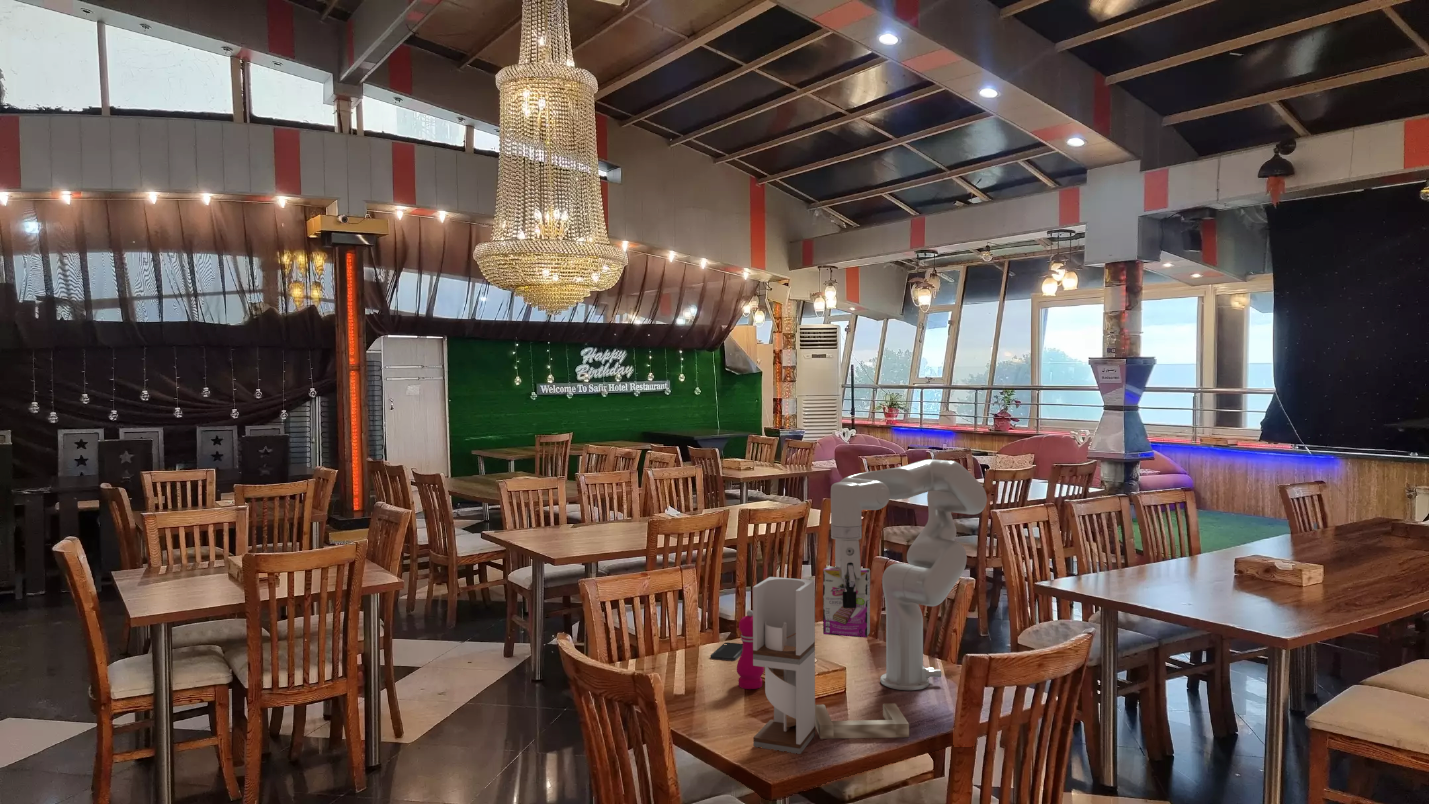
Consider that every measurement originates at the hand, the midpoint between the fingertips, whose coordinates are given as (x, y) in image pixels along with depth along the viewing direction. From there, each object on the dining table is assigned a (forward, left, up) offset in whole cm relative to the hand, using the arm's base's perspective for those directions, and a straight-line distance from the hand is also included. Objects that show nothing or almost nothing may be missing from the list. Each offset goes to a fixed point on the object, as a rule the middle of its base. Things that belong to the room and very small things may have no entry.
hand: (846, 603), depth 221 cm
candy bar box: (0, 0, -8) cm, 8 cm away
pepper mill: (+23, -14, -25) cm, 37 cm away
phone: (+27, -44, -25) cm, 57 cm away
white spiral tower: (+18, +23, -25) cm, 39 cm away
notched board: (0, +16, -25) cm, 30 cm away
